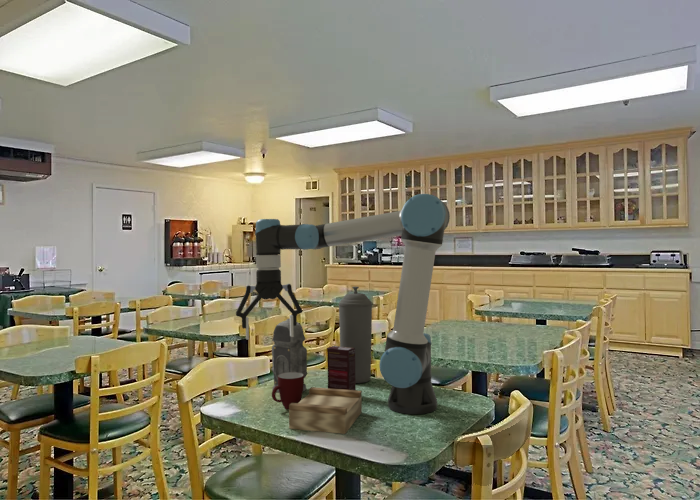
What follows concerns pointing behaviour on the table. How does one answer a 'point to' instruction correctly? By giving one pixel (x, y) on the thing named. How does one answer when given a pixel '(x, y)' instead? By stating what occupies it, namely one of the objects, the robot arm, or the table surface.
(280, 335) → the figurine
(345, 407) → the pedestal
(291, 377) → the mug
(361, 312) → the canister
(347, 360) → the supplement box
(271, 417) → the table surface
